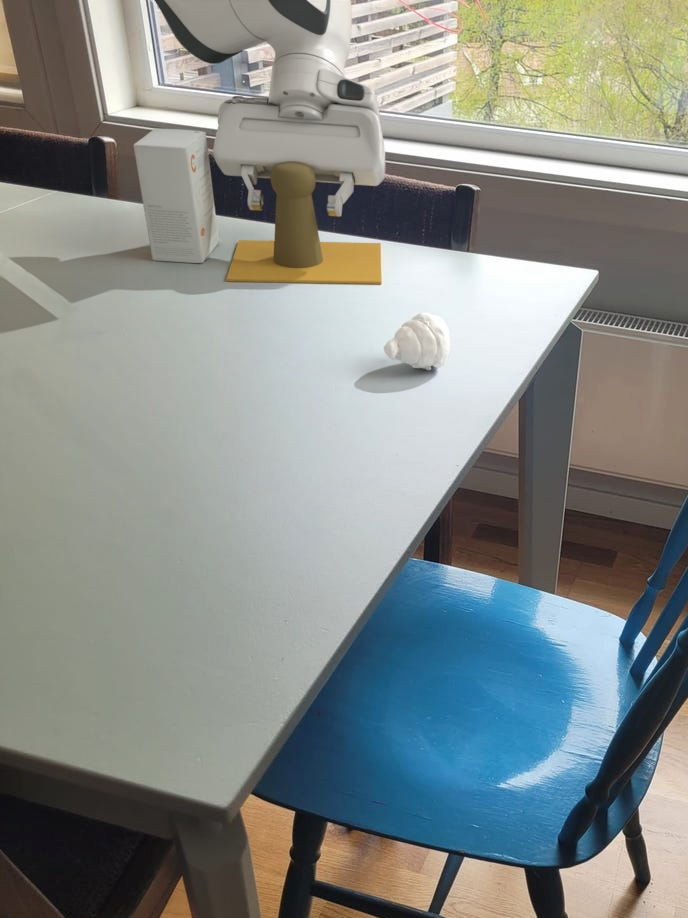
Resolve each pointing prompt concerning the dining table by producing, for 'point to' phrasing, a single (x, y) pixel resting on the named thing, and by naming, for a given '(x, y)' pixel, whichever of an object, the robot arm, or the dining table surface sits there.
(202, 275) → the dining table surface
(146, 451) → the dining table surface
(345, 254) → the linen cloth
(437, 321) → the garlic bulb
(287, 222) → the cork
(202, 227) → the small box
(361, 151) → the robot arm
